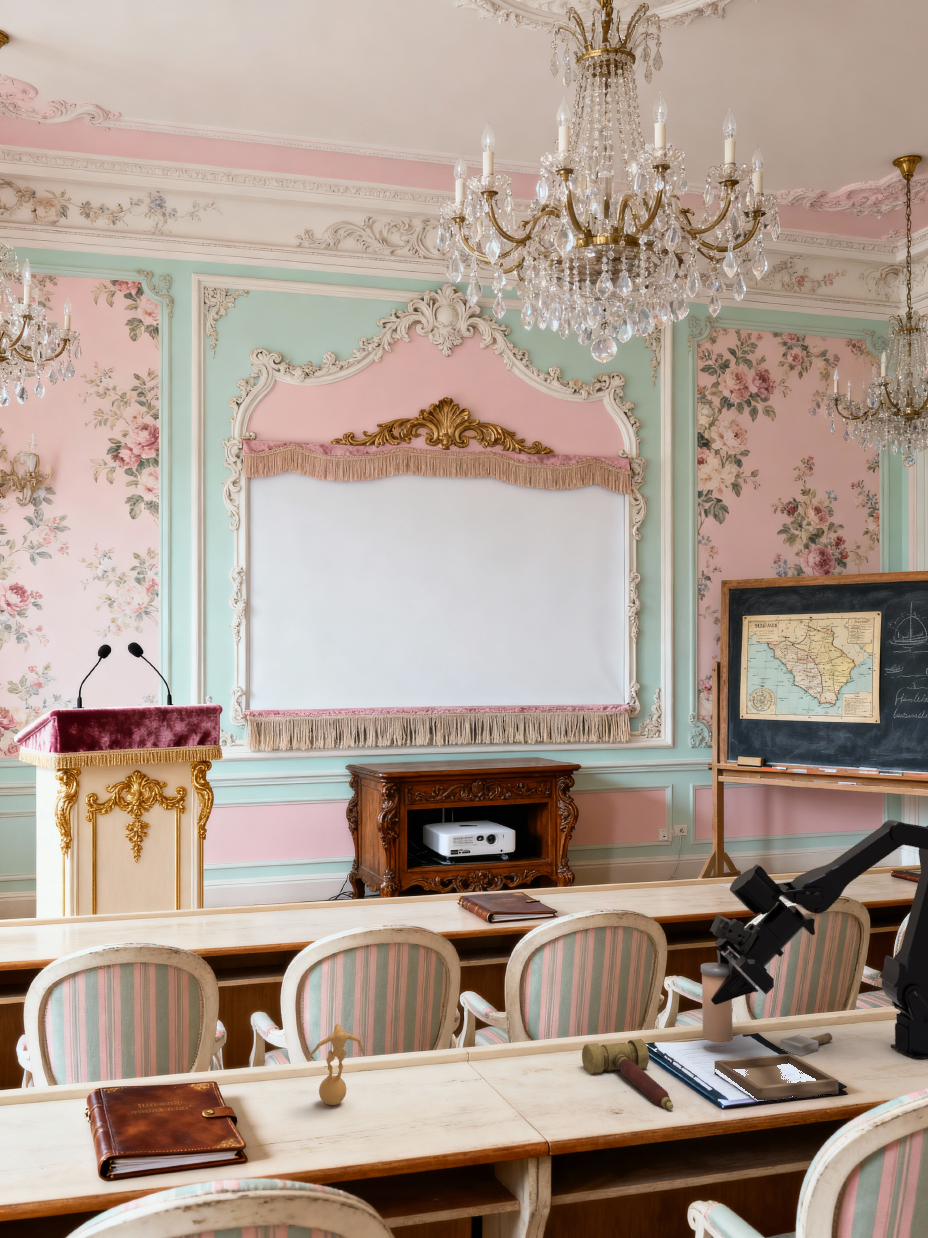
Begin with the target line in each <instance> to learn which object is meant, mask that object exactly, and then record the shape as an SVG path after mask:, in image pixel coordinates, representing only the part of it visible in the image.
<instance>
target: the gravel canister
mask: <svg viewBox="0 0 928 1238" xmlns="http://www.w3.org/2000/svg"><path fill="white" fill-rule="evenodd" d="M700 973H701V985H702V987H701V989H702V993H701V994H702V996H701V997H702V999H701V1000H702V1004H701V1005H702V1038H703V1039H704V1040H706V1041H708V1042H713V1043H729V1042H731V1041H733V1040H734V1039H733V1036H734V1035H733V1030H734V1027H733V1024H734V1023H733V999H731V1000H728V1001H725V1002H723V1003H720V1004H717V1005H715V1004H714V1003H713V1002H712V1001H711V999H712V997H713V996H714V994H715V993H716V991H717V990H718V989H719V987H720V986H721V984H722V983H723V982H724V980H725V979H726V978H727V976H728V975H729V965H728V964H724V963H718V962H704V963H701V964H700Z"/></svg>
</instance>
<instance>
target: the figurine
mask: <svg viewBox="0 0 928 1238" xmlns="http://www.w3.org/2000/svg"><path fill="white" fill-rule="evenodd" d="M333 1029H334V1030H333V1033H331V1034H330V1035H329V1036H327V1037H326V1038H325V1039H323V1040H321V1041H319V1043H317V1044H316V1046H315V1047H314V1048H313V1050H312V1051H311V1052H310V1054H309V1056H308V1060H307V1061H308V1062H309V1061H310V1060H311V1057H312V1056H313V1055H314V1054H315V1053H316V1052H317V1051H318V1050H319V1048H320V1047H322V1046H324V1045H326V1044H328V1043H330V1042H331V1044H332V1045H331V1046H332V1049H333V1050H330V1049H329V1050H328V1052H327V1053H328V1054H327V1057H326V1063H327V1070H328V1071H329V1074H328V1075H327V1076H326V1077H325V1078H324V1079H323V1080H322V1081H321V1083H320V1085H319V1089H318V1095H319V1097H320V1099H321V1101H322V1102H323V1103H324V1104H326V1105H328V1106H337V1105H339V1104H340V1103H342V1101H344V1099H345V1098H346V1095H347V1085H346V1084H347V1083H345V1080H343V1078H342V1073H343V1068H344V1065H343V1063H342V1062H343V1061H344V1060H345V1057H346V1055H347V1049H346V1048H344V1047H345V1045H346V1043H347V1040H350V1041H354V1042H357V1044H358V1047H359V1051H360V1053H361V1055H364V1054H365V1049H364V1047H363V1044H362V1040H361V1039H360V1038H359V1037H357V1036H355V1035H352V1034H350V1033H348V1032H346V1031H345V1030H344V1029H343V1027H342V1026H341V1024H340V1023H336V1024H335V1026H334V1028H333ZM335 1058H337V1060H338V1066H337V1067H338V1072H337V1074H336V1075H333V1066H332V1064H331V1063H332V1062H333V1061H334V1060H335Z"/></svg>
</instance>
